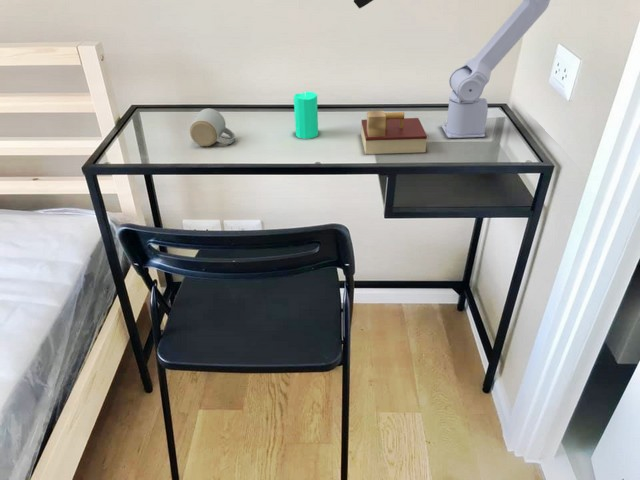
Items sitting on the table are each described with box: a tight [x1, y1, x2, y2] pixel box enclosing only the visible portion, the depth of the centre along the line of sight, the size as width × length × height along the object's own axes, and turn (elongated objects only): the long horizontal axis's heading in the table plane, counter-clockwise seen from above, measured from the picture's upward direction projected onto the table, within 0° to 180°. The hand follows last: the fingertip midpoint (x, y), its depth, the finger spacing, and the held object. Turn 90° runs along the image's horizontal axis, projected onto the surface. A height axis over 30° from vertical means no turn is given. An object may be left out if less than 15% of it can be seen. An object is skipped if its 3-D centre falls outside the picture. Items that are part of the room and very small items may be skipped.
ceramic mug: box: [189, 108, 236, 147], centre depth 136 cm, size 11×8×8 cm
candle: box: [293, 91, 319, 140], centre depth 137 cm, size 6×6×12 cm
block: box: [366, 110, 386, 137], centre depth 127 cm, size 4×4×5 cm
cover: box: [361, 111, 428, 141], centre depth 130 cm, size 13×15×5 cm
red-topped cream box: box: [360, 122, 428, 155], centre depth 133 cm, size 12×15×4 cm
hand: (355, 2), depth 121 cm, fingers open, 7 cm apart
